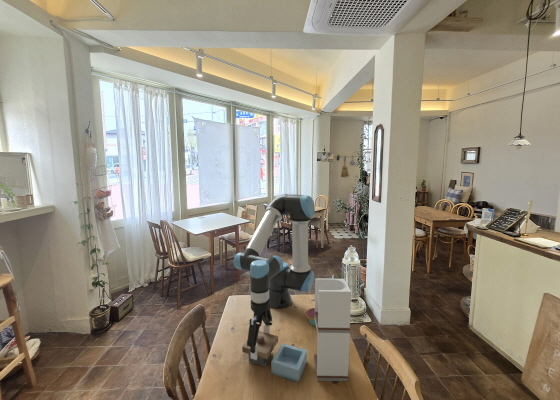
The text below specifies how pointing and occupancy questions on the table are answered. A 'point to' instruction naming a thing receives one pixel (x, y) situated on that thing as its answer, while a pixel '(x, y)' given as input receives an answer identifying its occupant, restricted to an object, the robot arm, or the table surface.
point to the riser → (259, 360)
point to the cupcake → (311, 316)
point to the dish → (289, 362)
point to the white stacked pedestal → (332, 329)
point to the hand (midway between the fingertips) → (260, 348)
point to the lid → (263, 345)
